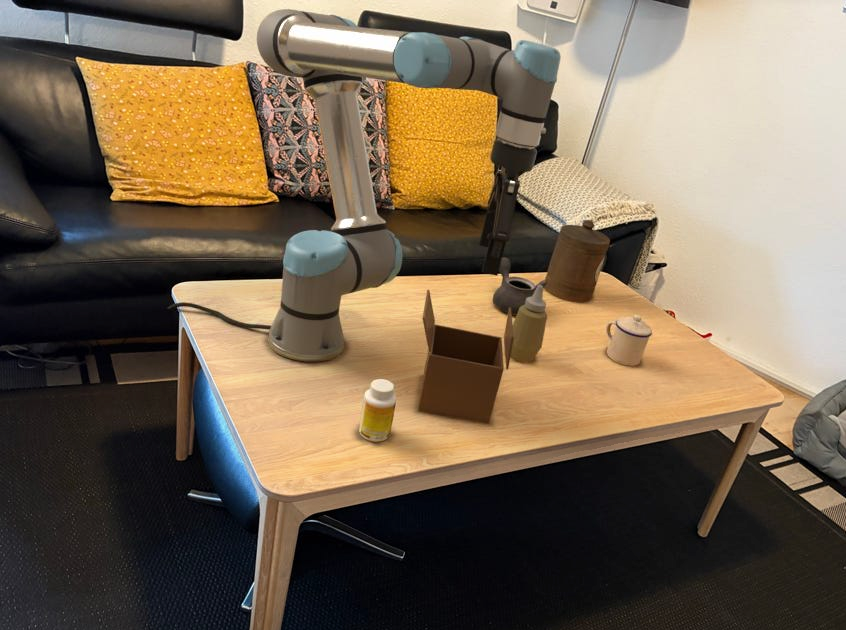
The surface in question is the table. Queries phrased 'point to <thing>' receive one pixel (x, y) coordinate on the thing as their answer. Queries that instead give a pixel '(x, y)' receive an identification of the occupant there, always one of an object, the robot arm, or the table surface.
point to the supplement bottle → (378, 411)
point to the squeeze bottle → (529, 327)
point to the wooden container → (576, 262)
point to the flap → (428, 320)
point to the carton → (464, 372)
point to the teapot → (513, 289)
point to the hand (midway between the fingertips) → (487, 259)
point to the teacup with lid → (628, 340)
